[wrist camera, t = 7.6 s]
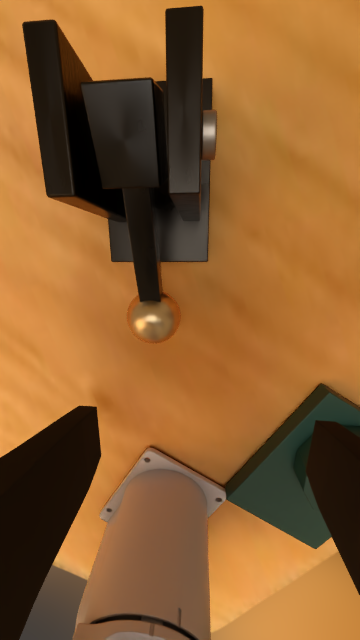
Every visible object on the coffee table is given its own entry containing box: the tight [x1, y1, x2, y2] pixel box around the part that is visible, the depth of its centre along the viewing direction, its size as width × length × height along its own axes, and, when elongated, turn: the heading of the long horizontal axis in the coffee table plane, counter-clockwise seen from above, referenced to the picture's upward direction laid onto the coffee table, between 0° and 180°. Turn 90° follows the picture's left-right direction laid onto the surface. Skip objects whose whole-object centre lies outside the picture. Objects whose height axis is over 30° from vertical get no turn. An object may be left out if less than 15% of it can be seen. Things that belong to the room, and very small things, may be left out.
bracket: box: [22, 6, 217, 262], centre depth 11 cm, size 9×6×8 cm, turn 0°
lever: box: [80, 77, 181, 343], centre depth 11 cm, size 11×3×3 cm, turn 0°
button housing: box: [225, 384, 360, 549], centre depth 18 cm, size 12×9×3 cm
